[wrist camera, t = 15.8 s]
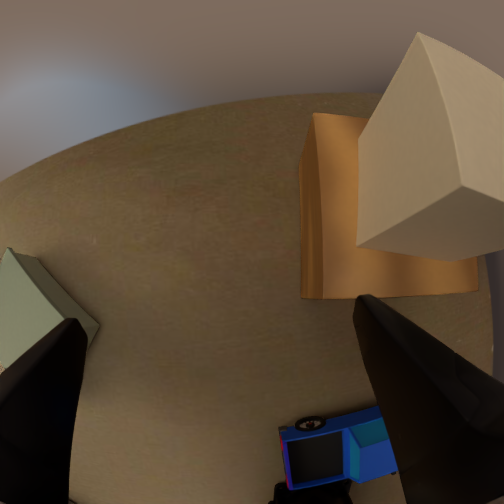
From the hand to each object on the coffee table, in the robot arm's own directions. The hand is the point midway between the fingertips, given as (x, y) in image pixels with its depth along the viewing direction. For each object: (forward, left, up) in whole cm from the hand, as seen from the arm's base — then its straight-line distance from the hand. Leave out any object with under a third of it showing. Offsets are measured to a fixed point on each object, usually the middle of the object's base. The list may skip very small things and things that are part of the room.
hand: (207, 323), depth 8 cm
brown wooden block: (-9, -6, -11) cm, 16 cm away
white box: (-9, -6, -4) cm, 12 cm away
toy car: (-9, +10, -12) cm, 18 cm away
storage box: (+18, +3, -11) cm, 21 cm away
